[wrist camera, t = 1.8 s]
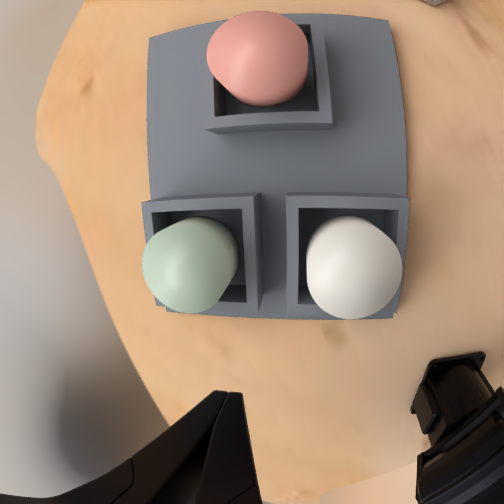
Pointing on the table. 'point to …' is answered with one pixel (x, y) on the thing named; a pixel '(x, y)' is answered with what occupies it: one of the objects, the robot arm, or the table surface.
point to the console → (279, 157)
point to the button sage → (191, 263)
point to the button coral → (259, 58)
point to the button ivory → (352, 267)
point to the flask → (434, 2)
